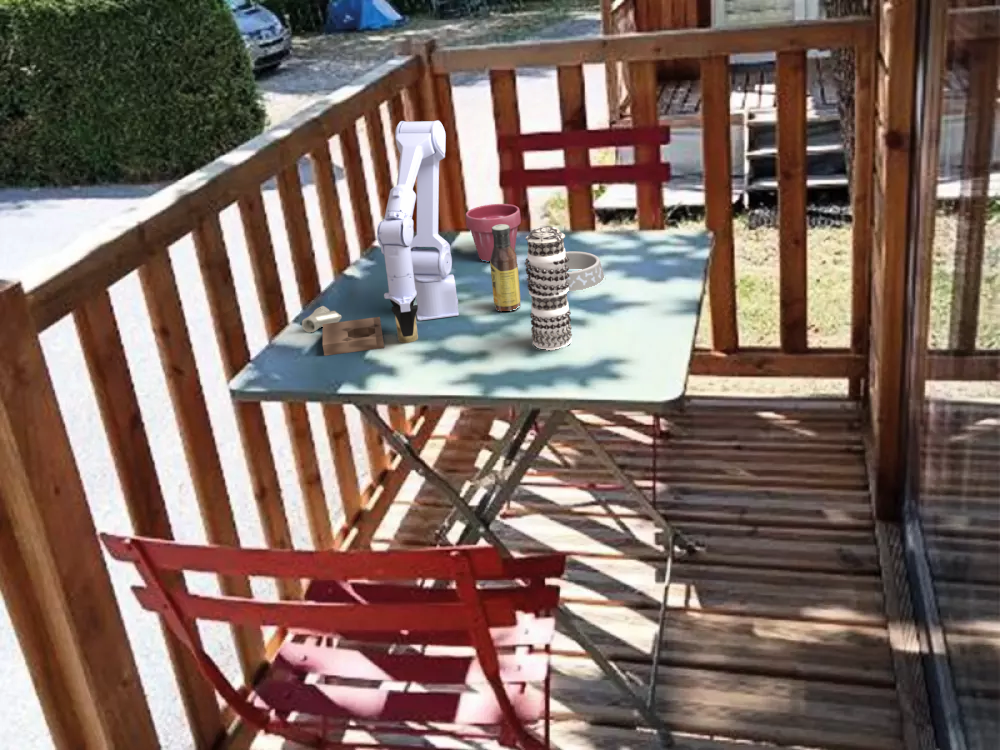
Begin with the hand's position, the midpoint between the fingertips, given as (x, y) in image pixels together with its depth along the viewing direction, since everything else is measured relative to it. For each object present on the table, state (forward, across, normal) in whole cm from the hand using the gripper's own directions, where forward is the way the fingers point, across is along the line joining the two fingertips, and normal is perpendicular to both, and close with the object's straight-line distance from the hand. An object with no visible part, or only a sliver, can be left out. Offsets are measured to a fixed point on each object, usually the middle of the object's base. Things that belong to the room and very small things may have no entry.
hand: (407, 331), depth 250 cm
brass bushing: (+2, 0, 0) cm, 2 cm away
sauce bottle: (+2, -11, +24) cm, 26 cm away
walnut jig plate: (+2, -3, -12) cm, 12 cm away
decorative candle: (+2, +13, +30) cm, 33 cm away
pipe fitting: (+2, -15, -18) cm, 24 cm away
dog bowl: (+2, -25, +41) cm, 48 cm away
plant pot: (+2, -50, +27) cm, 57 cm away
